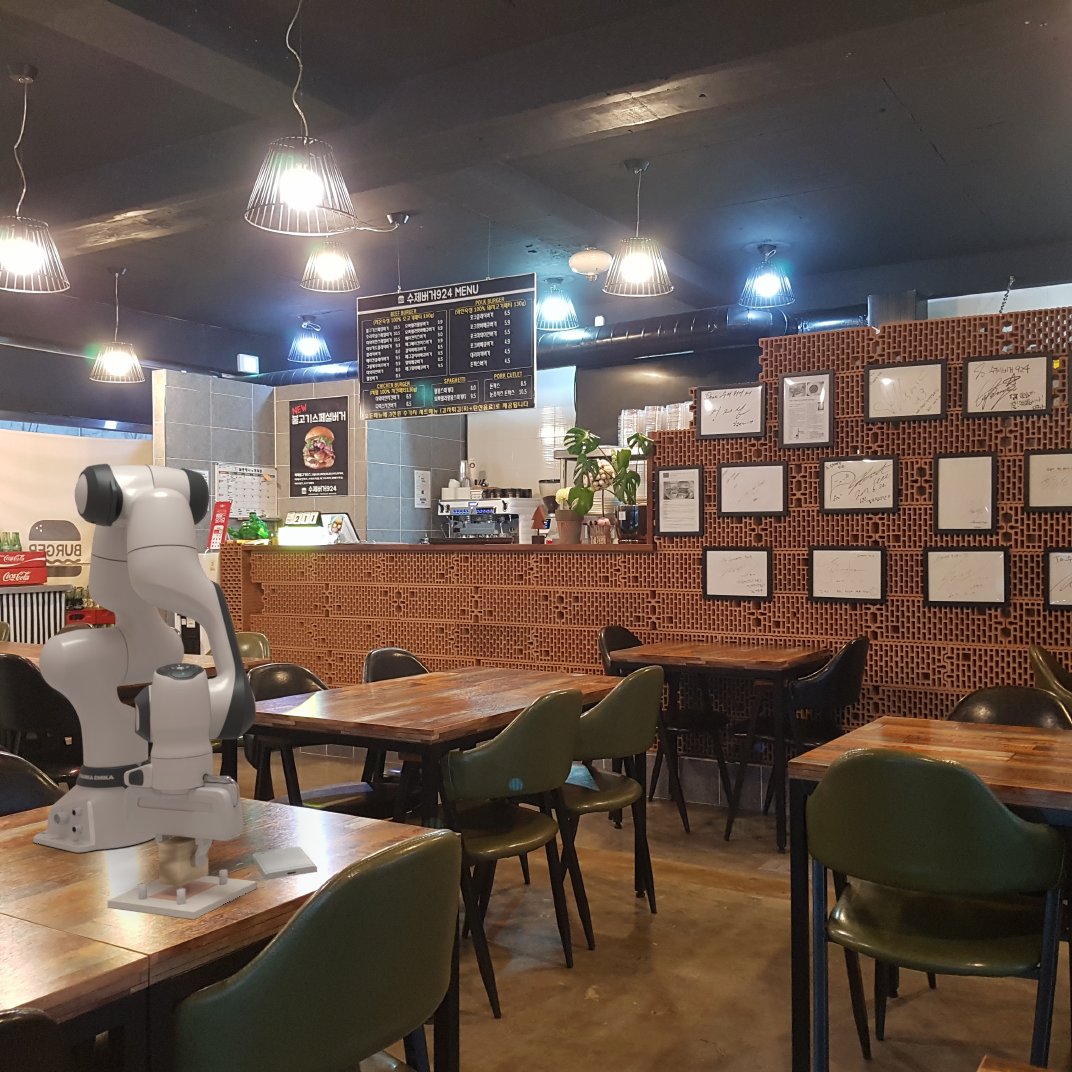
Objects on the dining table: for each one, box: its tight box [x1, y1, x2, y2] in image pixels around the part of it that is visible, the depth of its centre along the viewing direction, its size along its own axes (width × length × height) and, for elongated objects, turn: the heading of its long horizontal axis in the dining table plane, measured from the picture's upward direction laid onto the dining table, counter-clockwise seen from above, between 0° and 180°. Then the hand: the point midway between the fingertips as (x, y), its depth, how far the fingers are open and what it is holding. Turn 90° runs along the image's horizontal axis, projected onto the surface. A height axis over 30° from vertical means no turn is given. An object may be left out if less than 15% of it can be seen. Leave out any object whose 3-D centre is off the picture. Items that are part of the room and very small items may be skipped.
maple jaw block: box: [158, 836, 209, 886], centre depth 151 cm, size 4×6×6 cm, turn 158°
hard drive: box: [251, 846, 318, 881], centre depth 165 cm, size 2×8×12 cm
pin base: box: [107, 868, 258, 920], centre depth 151 cm, size 16×14×3 cm
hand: (184, 864), depth 151 cm, fingers closed on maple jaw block, 4 cm apart
